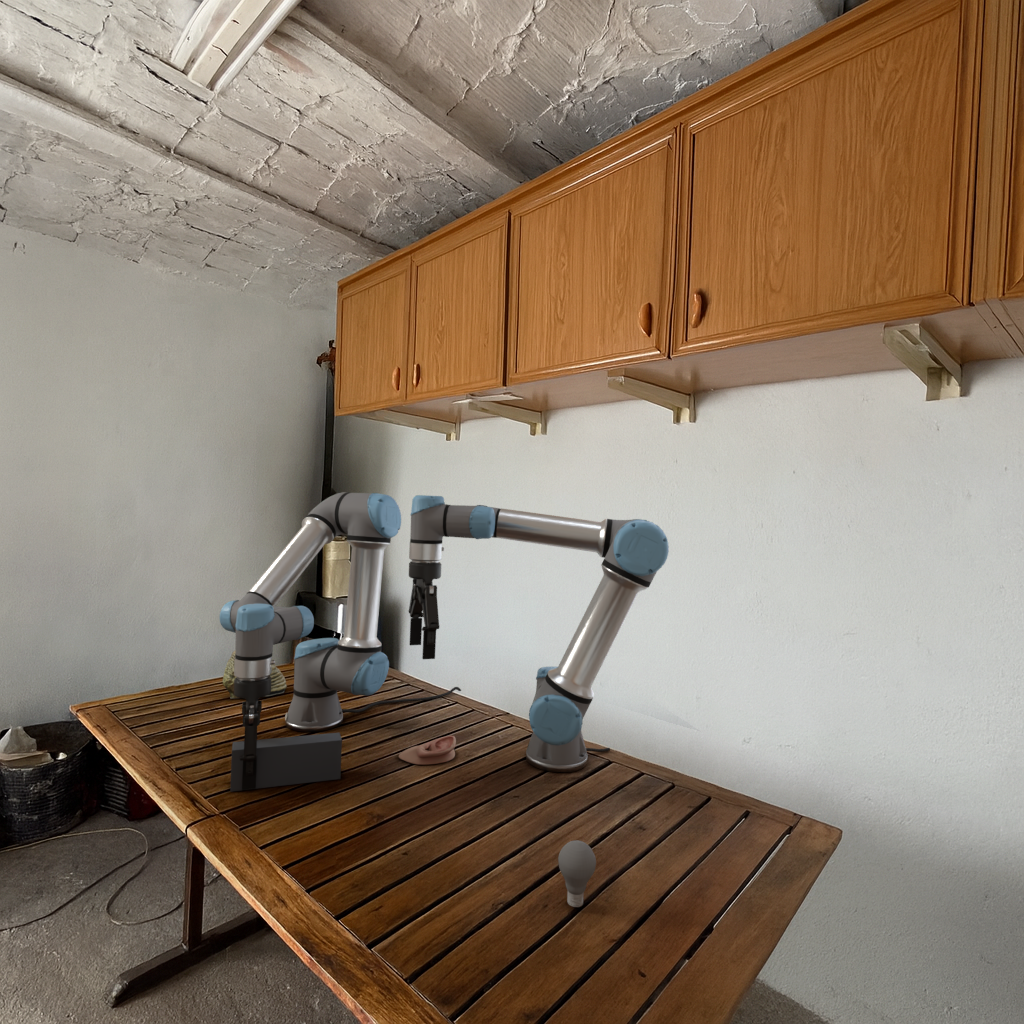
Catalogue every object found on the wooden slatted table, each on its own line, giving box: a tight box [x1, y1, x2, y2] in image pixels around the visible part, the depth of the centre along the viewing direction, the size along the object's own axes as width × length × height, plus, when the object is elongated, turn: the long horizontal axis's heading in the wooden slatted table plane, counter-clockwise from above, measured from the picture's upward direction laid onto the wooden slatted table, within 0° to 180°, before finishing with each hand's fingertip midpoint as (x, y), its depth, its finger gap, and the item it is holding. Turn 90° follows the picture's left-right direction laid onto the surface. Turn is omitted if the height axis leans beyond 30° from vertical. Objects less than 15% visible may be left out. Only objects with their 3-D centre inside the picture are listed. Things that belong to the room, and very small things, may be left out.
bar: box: [230, 732, 343, 793], centre depth 140 cm, size 23×5×9 cm, turn 111°
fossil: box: [222, 650, 288, 699], centre depth 198 cm, size 9×18×15 cm, turn 132°
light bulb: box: [557, 839, 597, 908], centre depth 101 cm, size 6×6×10 cm
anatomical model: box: [398, 735, 457, 766], centre depth 157 cm, size 13×4×12 cm
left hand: (249, 782), depth 138 cm, fingers closed on bar, 5 cm apart
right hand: (421, 651), depth 148 cm, fingers open, 13 cm apart
